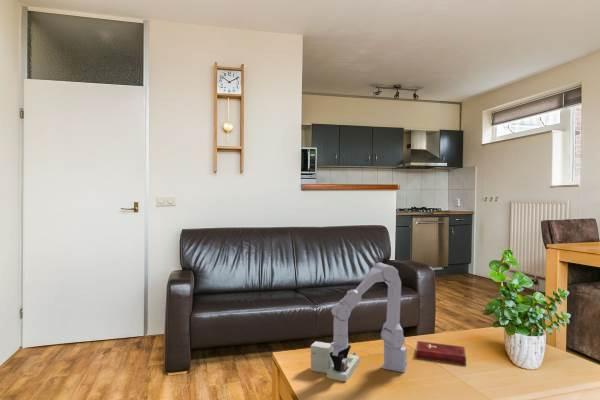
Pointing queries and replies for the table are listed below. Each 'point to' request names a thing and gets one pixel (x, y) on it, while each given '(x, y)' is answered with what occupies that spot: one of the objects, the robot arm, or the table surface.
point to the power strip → (344, 376)
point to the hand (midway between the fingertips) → (340, 367)
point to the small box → (321, 356)
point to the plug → (344, 365)
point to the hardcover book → (441, 352)
